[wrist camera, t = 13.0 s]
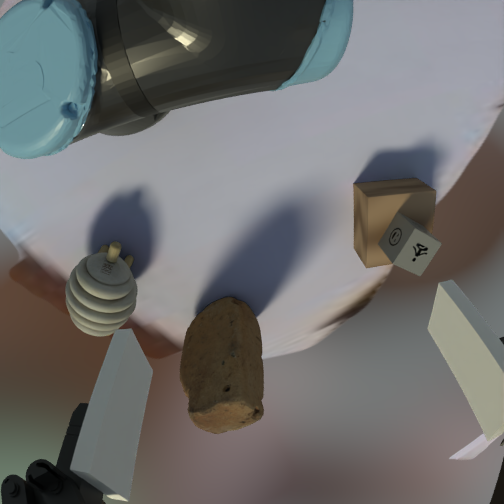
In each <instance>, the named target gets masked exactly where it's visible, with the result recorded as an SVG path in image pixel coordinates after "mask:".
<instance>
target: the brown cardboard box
mask: <svg viewBox="0 0 504 504" xmlns="http://www.w3.org/2000/svg"><path fill="white" fill-rule="evenodd" d="M353 188H354V249H355V251H356V253H357V254H358V256H359V257H360V259H361V261H362V262H363V264H364V265H365V267H366V268H371V267H377V266H383V265H389V264H392V262H391V261H390V260H389V258H388V257H387V256H386V254H385V253H384V252H383V250H382V249H381V248H380V246H379V245H378V243H379V241H380V239H381V238H382V236H383V234H384V233H385V231H386V229H387V228H388V226H389V224H390V223H391V221H392V219H393V218H394V216H395V214H396V213H397V212H399V213H401V214H403V215H404V216H406V217H408V218H410V219H412V220H413V221H415V222H417V223H419V224H420V225H422V226H424V227H425V228H426V229H427V230H428V231H429V232H430V233H431V234H432V230H433V221H434V212H435V201H436V190H434V189H433V188H431V187H430V186H428V185H427V184H425V183H424V182H422V181H420V180H419V179H417V178H409V179H396V180H385V181H374V182H363V183H353Z"/></svg>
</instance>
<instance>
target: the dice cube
mask: <svg viewBox="0 0 504 504" xmlns="http://www.w3.org/2000/svg"><path fill="white" fill-rule="evenodd" d="M441 244H442V243H441V242H439V240H437V239H436V238H435V237H434V236H433V235H432V234H431V233H430V232H429V231H428V230H427V229H426V228H425V227H424V226H422V225H420V224H419V223H417V222H415V221H413V220H412V219H410V218H408V217H406V216H404V215H403V214H401V213H399V212H397V213H396V214H395V216H394V218H393V219H392V221H391V223H390V224H389V226H388V228H387V229H386V231H385V233H384V234H383V236H382V238H381V239H380V241H379V243H378V245H379V246H380V248H381V249H382V250H383V252H384V253H385V254H386V256H387V257H388V258H389V260H390V261H391V262H392V264H394V265H396V266H399V267H401V268H403V269H405V270H407V271H410V272H412V273H414V274H416V275H418V276H421V274H422V273H423V271H424V270H425V269H426V267H427V266H428V264H429V263H430V261H431V259H432V258H433V256H434V255H435V253H436V252H437V250H438V249H439V247H440V246H441Z"/></svg>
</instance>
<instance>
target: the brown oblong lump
mask: <svg viewBox="0 0 504 504" xmlns="http://www.w3.org/2000/svg"><path fill="white" fill-rule="evenodd" d="M261 356H262V340H261V331H260V327H259V324H258V321H257V319H256V317H255V315H254V313H253V312H252V310H251V309H250V307H249V306H248V305H247V304H246V303H245V302H243V301H239V300H237V299H235V298H233V297H226V298H222V299H219V300H217V301H215V302H213V303H211V304H210V305H209V306H207V307H206V308H205V309H204V310H203V311H202V312H201V313H199V314H198V315H197V316H196V317H195V319H194V320H193V321H192V322H191V324H190V327H189V328H188V329H187V332H186V336H185V340H184V346H183V351H182V357H181V365H180V381H181V383H182V386H183V389H184V392H185V395H186V396H187V397H188V398H189V403H188V404H189V407H188V413H189V416H190V419H191V420H192V421H193V423H194V424H195V426H197V427H198V428H200V429H203V430H205V431H208V432H211V433H214V434H219V433H223V432H227V431H231V430H238V429H241V428H243V427H246V426H248V425H251V424H253V423H255V422H256V421H258V420H260V419H261V417H262V416H263V412H264V409H263V405H262V401H261V400H262V398H263V390H264V385H263V384H264V379H263V378H264V374H263V373H264V372H263V360H262V357H261Z"/></svg>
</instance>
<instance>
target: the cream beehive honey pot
mask: <svg viewBox="0 0 504 504" xmlns="http://www.w3.org/2000/svg"><path fill="white" fill-rule="evenodd" d="M120 250H121V244H120V243H118V242H116V241H115V242H112V243H111V244H110V247H108V246H107V245H103V246H102V247H101V249H100V250H99V252H98V253H97V254H93V255H89V256H87V257H85V258H83V259H82V260H81V261H80V262H79V264H78V265H77V266H76V267H75V268H74V269H73V270H72V272H71V275H70V278H69V280H68V282H67V284H66V304H67V308H68V310H69V312H70V316H71V319H72V321H73V322H74V324H75V325H76V326H77V327H78V328H79V329H80V330H82V331H83V332H85V333H87V334H90V335H94V336H109V335H110V334H112V333H114V332H115V331H116V330H117V329H118V328H119V327H120V326H122V325H123V324H124V323H125V322H126V321H127V319H128V317H129V316H130V315H131V314H132V313H133V311H134V309H135V307H136V296H137V284H136V282H135V280H134V278H133V274H132V272H131V270H130V267H131V265H132V263H133V261H134V258H133V257H132V256H131V255H128V256H126V258H125V260H123V259H121V258H120V257H119V253H120Z"/></svg>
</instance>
